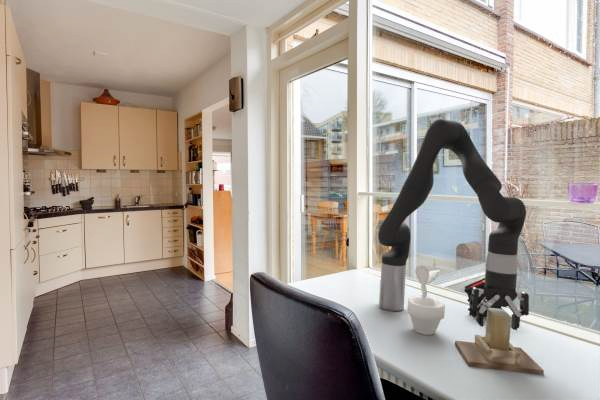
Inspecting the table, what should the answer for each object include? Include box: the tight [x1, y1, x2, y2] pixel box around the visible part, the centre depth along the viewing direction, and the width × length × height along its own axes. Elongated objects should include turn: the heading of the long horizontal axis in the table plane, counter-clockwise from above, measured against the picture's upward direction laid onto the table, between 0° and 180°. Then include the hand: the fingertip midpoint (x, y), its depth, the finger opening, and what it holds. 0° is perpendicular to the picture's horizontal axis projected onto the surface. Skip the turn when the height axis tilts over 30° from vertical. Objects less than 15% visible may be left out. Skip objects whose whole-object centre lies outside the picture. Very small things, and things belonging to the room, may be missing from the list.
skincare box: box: [484, 308, 512, 351], centre depth 96 cm, size 6×4×12 cm
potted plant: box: [406, 259, 446, 336], centre depth 113 cm, size 13×12×25 cm
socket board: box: [454, 334, 545, 376], centre depth 96 cm, size 18×13×4 cm
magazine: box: [463, 277, 503, 318], centre depth 130 cm, size 4×13×15 cm, turn 92°
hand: (497, 327), depth 96 cm, fingers open, 8 cm apart
